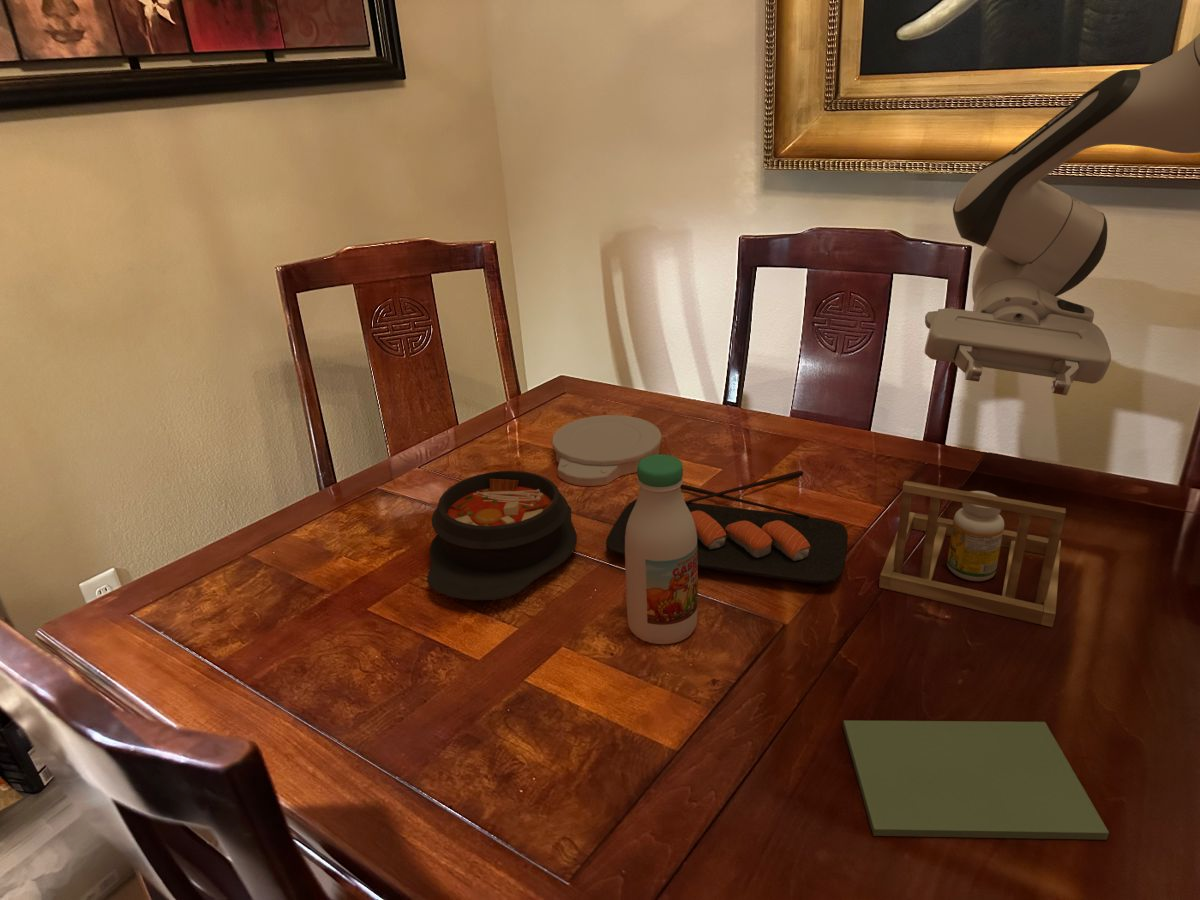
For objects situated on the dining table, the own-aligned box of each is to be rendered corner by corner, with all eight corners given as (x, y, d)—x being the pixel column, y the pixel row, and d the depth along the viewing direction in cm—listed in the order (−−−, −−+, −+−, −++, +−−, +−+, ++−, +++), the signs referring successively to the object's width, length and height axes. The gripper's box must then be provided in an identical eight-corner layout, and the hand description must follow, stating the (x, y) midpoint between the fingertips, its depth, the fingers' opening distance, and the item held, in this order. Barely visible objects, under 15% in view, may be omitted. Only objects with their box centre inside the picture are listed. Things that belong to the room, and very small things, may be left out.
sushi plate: (598, 563, 105) (597, 536, 103) (661, 459, 130) (661, 436, 128) (840, 598, 96) (842, 570, 94) (856, 479, 121) (859, 455, 119)
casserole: (477, 500, 121) (470, 448, 117) (601, 513, 116) (599, 459, 112) (392, 602, 99) (381, 541, 95) (541, 623, 94) (535, 560, 90)
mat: (1043, 728, 77) (1045, 721, 76) (1107, 840, 66) (1109, 832, 66) (842, 726, 78) (843, 720, 78) (873, 836, 67) (874, 829, 67)
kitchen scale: (525, 477, 126) (524, 459, 125) (579, 425, 143) (578, 409, 142) (632, 494, 120) (632, 476, 119) (676, 438, 137) (676, 421, 135)
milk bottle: (620, 642, 91) (613, 477, 82) (635, 600, 97) (630, 444, 89) (692, 650, 89) (692, 483, 80) (701, 607, 95) (703, 448, 87)
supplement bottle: (994, 586, 96) (1008, 514, 92) (944, 577, 99) (955, 505, 94) (995, 562, 101) (1009, 491, 97) (948, 553, 103) (958, 484, 99)
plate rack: (903, 522, 110) (915, 433, 104) (1058, 553, 102) (1079, 458, 97) (878, 587, 97) (890, 490, 92) (1052, 627, 89) (1076, 523, 84)
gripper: (931, 287, 107) (929, 345, 97) (1107, 310, 102) (1124, 374, 92) (919, 329, 111) (916, 389, 101) (1088, 353, 106) (1102, 419, 96)
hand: (1017, 382), depth 97 cm, fingers open, 8 cm apart
